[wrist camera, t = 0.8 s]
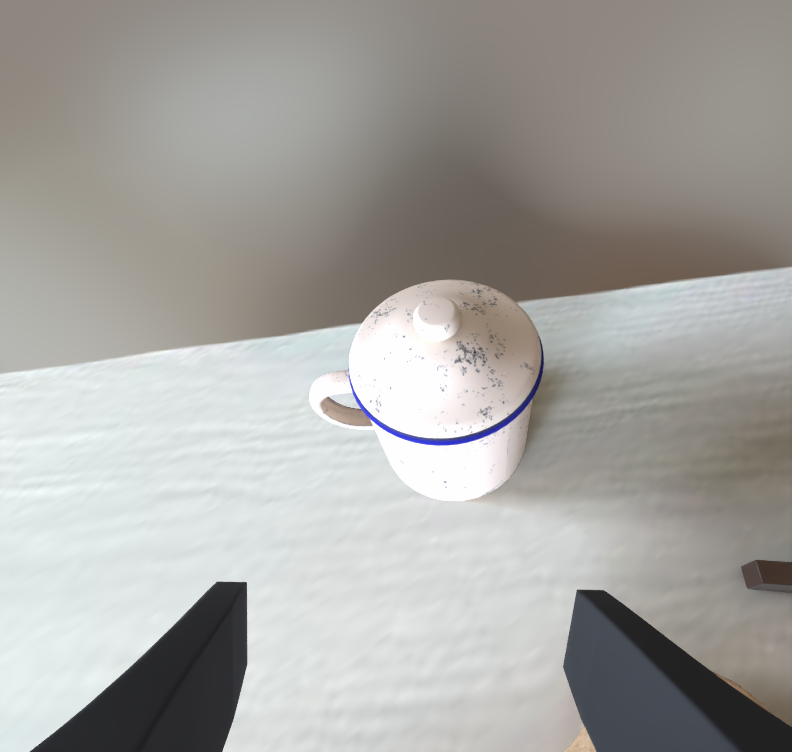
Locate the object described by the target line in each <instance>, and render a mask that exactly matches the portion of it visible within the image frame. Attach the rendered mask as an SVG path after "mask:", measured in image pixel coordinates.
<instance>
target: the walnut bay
mask: <svg viewBox="0 0 792 752" xmlns="http://www.w3.org/2000/svg"><path fill="white" fill-rule="evenodd" d="M741 568H742V571H743V575H744V579H745V582H746V586H747V588H748V589H759V590H772V591H784V592H792V562H779V561H764V560H755V561H753V562H750V563H748V564H746V565H744V566H741Z"/></svg>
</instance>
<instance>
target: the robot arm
mask: <svg viewBox="0 0 792 752" xmlns="http://www.w3.org/2000/svg"><path fill="white" fill-rule="evenodd" d="M246 667H247V582H217V583H215V584H214V585H213V586H212V587H211V588H210V589H209V590H208V591H207V592H206V593H205V594H204V595H203V596H202V597H201V598H200V599H199V600H198V601H197V602H196V603H195V604H194V605H193V606H192V607H191V608H190V609H189V610H188V611H187V612H186V613H185V615H184V616H183V617H182V618H181V619H180V620H179V621H178V622H177V623H176V624H175V625H174V626H173V627H172V628H171V629H170V630H169V631H168V632H167V633H166V634H164V635H163V636H162V637H161V638H160V639H159V640H158V641H157V642H156V643H155V644H154V645H153V646H152V647H151V648H150V649H149V650H148V651H147V652H146V653H145V654H144V655H143V656H142V657H141V658H140V659H138V660H137V661H136V662H135V663H134V664H133V665H132V666H131V667H130V668H129V669H128V670H127V671H125V672H124V673H123V674H122V675H121V676H120V677H119V678H118V679H116V680H115V681H114V682H113V683H112V684H111V685H110V686H109V687H107V688H106V689H105V690H104V691H103V692H102V693H101V694H100V695H98V696H97V697H96V698H95V699H94V700H93V701H92V702H90V703H89V704H88V705H87V706H86V707H85V708H83V709H82V710H81V711H80V712H79V713H77V714H76V715H75V716H74V717H73V718H71V719H70V720H69V721H68V722H67V723H65V724H64V725H63V726H62V727H60V728H59V729H58V730H57V731H56V732H54V733H53V734H52V735H51V736H49V737H48V738H47V739H45V740H44V741H43V742H42V743H40V744H39V745H38V746H36V747H35V748H34V749H33V750H31V751H30V752H222V751H223V748H224V745H225V742H226V739H227V736H228V734H229V731H230V728H231V725H232V722H233V719H234V715H235V711H236V707H237V704H238V700H239V696H240V692H241V687H242V683H243V679H244V675H245V671H246ZM563 668H564V671H565V674H566V677H567V680H568V683H569V686H570V689H571V692H572V695H573V697H574V700H575V703H576V706H577V708H578V711H579V714H580V717H581V719H582V722H583V724H584V726H585V728H586V730H587V733H588V735H589V737H590V739H591V741H592V743H593V745H594V747H595V750H596V752H792V727H791V726H789V725H788V724H786V723H785V722H783V721H782V720H780V719H779V718H777V717H776V716H774V715H773V714H771V713H770V712H768V711H767V710H765V709H764V708H762V707H761V706H759V705H758V704H757V703H755V702H754V701H752V700H751V699H749V698H748V697H747V696H745V695H744V694H742V693H741V692H739V691H738V690H737V689H735V688H734V687H732V686H731V685H729V684H728V683H727V682H725V681H724V680H723V679H721V678H720V677H718V676H717V675H716V674H714V673H713V672H712V671H710V670H709V669H707V668H706V667H705V666H703V665H702V664H701V663H699V662H698V661H697V660H695V659H694V658H693V657H691V656H690V655H689V654H687V653H686V652H685V651H683V650H682V649H681V648H680V647H678V646H677V645H676V644H674V643H673V642H672V641H670V640H669V639H668V638H666V637H665V636H664V635H663V634H661V633H660V632H659V631H657V630H656V629H655V628H654V627H652V626H651V625H650V624H648V623H647V622H646V621H644V620H643V619H642V618H641V617H639V616H638V615H637V614H635V613H634V612H633V611H631V610H630V609H629V608H628V607H626V606H625V605H624V604H622V603H621V602H619V601H618V600H617V599H615V598H614V597H613V596H611V595H610V594H608V593H607V592H605V591H604V590H577V593H576V598H575V604H574V609H573V615H572V621H571V626H570V632H569V637H568V643H567V649H566V654H565V660H564V665H563Z"/></svg>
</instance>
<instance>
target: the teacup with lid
mask: <svg viewBox="0 0 792 752" xmlns="http://www.w3.org/2000/svg"><path fill="white" fill-rule="evenodd" d="M543 365H544V356H543V348H542V344H541V340H540V337H539V335H538V332H537V330H536V328H535V326H534V324H533V322H532V321H531V319H530V318H529V316H528V315H527V314H526V312H525V311H524V310H523V309H522V308H521V307H520V306H519V305H518V304H517V303H516V302H515V301H513V300H512V299H511V298H509V297H508V296H506V295H505V294H503V293H501V292H499V291H497V290H496V289H493V288H491V287H488V286H486V285H482V284H478V283H474V282H469V281H463V280H462V281H461V280H439V281H432V282H427V283H422V284H418V285H415V286H412V287H410V288H407V289H405V290H402V291H400V292H398V293H397V294H395V295H393V296H391V297H390V298H388V299H386V300H385V301H384V302H382V303H381V304H380V305H379V306H378V307H376V309H374V310H373V311H372V312H371V313H370V314H369V316H368V317H367V318H366V319H365V321H364V322H363V323H362V325H361V327H360V328H359V330H358V332H357V334H356V336H355V338H354V341H353V343H352V347H351V351H350V357H349V368H348V370H345V371H336V372H331V373H328V374H325V375H323V376H321V377H319V378H318V379H317V380H316V381H315V382H314V383H313V384H312V386H311V390H310V404H311V406H312V408H313V409H314V410H315V411H316V413H318V414H319V415H320V416H321V417H322V418H324V419H326V420H327V421H329V422H331V423H333V424H336V425H339V426H342V427H346V428H352V429H375V431H376V433H377V435H378V437H379V439H380V442H381V444H382V446H383V448H384V450H385V452H386V455H387V457H388V459H389V461H390V463H391V465H392V467H393V469H394V470H395V472H396V473H397V474H398V476H399V477H400V478H401V479H402V480H403V481H404V482H405V483H406V484H407V485H409V486H410V487H411V488H413V489H414V490H416V491H418V492H420V493H421V494H424V495H426V496H428V497H432V498H435V499H439V500H446V501H463V500H470V499H474V498H478V497H481V496H483V495H486V494H488V493H490V492H492V491H494V490H495V489H497V488H498V487H500V486H501V485H502V484H503V483H505V482H506V481H507V480H508V479H509V478H510V476H511V475H512V474H513V473H514V471H515V470H516V468H517V467H518V465H519V463H520V461H521V459H522V456H523V453H524V449H525V445H526V438H527V432H528V425H529V419H530V413H531V406H532V400H533V397H534V395H535V393H536V391H537V389H538V386H539V384H540V381H541V377H542V373H543ZM343 393H353V395H354V397H355V399H356V401H357V403H358V405H359V406H360V408H361V409H355V408H350V407H346V406H343V405H341V404H339V403H337V402H335V401H333V400H332V399H331V398H329V397H328V396H331V395H335V394H343Z"/></svg>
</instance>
